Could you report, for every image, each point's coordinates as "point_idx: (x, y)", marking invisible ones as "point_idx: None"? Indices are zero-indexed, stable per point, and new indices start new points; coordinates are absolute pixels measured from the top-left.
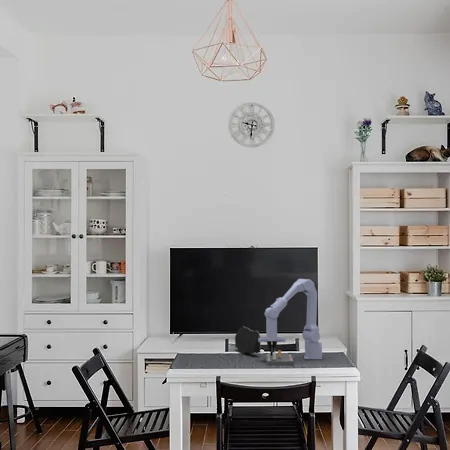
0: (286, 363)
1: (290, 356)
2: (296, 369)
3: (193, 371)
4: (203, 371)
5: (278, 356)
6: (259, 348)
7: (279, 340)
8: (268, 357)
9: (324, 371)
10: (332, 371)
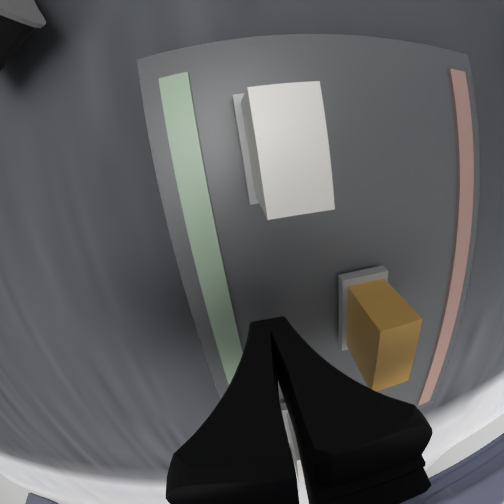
0: None
1: (467, 226)
2: None
3: (26, 479)
4: (46, 485)
5: (350, 344)
6: (8, 26)
7: (470, 485)
8: (224, 343)
9: (478, 423)
10: (497, 411)
